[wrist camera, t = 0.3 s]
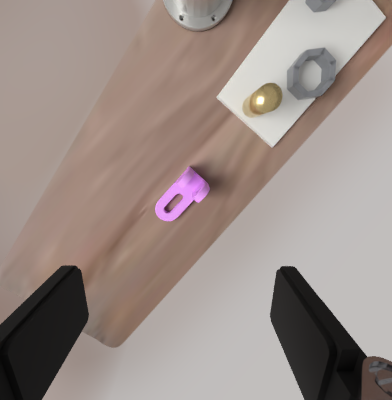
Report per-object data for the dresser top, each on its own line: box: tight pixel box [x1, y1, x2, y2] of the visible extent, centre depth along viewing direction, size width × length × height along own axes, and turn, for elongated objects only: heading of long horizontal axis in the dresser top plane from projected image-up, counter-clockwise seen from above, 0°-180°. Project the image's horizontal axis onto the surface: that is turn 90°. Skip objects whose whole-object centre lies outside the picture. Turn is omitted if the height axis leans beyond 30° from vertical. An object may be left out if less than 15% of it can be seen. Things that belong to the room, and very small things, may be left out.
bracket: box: [155, 166, 210, 221], centre depth 42 cm, size 13×6×7 cm, turn 138°
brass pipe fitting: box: [242, 83, 283, 118], centre depth 35 cm, size 4×4×9 cm
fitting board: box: [217, 0, 386, 147], centre depth 36 cm, size 15×28×4 cm, turn 141°
